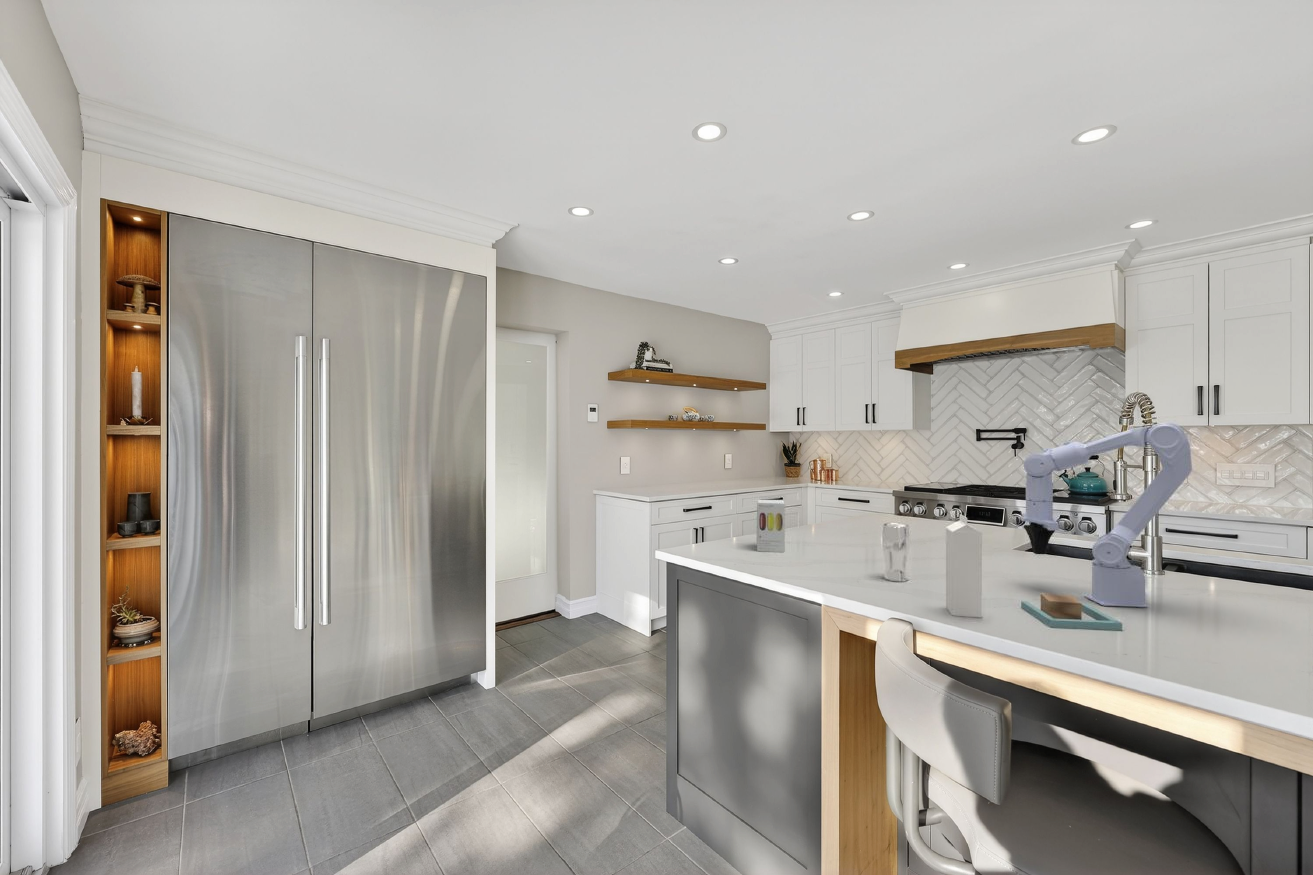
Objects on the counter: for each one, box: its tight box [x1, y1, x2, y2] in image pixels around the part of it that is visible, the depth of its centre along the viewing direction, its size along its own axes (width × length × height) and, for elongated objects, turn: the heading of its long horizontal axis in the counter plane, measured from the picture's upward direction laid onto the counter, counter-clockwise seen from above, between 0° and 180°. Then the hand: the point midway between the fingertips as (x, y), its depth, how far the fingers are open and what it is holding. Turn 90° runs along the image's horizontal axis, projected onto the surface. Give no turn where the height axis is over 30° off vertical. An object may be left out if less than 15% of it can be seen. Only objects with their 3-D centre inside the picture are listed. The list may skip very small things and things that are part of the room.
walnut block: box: [1040, 593, 1083, 620], centre depth 127 cm, size 6×6×4 cm
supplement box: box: [756, 499, 786, 553], centre depth 198 cm, size 10×9×17 cm
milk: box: [945, 513, 983, 618], centre depth 129 cm, size 6×6×22 cm
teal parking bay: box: [1020, 600, 1123, 631], centre depth 125 cm, size 13×13×2 cm
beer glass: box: [881, 522, 911, 583], centre depth 158 cm, size 7×7×15 cm
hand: (1039, 553), depth 146 cm, fingers closed
